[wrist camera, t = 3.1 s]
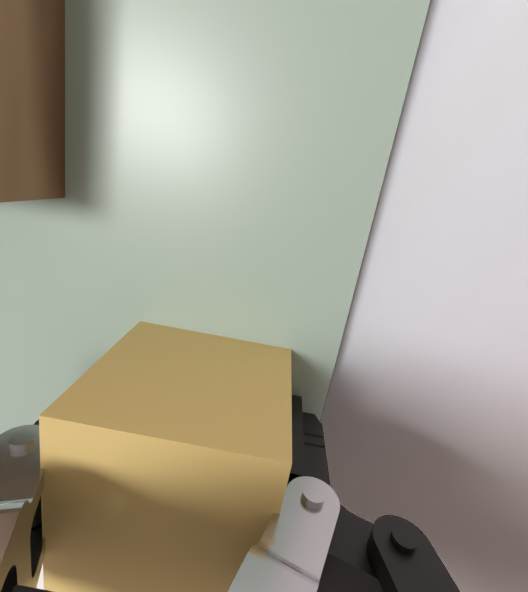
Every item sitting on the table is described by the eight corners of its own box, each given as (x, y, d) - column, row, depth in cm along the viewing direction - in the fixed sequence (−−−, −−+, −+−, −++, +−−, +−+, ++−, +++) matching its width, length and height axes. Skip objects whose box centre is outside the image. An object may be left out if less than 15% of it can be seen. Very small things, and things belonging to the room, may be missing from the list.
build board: (440, -70, 9) (460, -103, 8) (263, 623, 17) (261, 652, 16) (-265, -191, 9) (-337, -239, 8) (-111, 550, 17) (-136, 574, 16)
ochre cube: (291, 349, 12) (292, 463, 7) (264, 470, 13) (250, 632, 9) (139, 320, 12) (38, 415, 7) (131, 445, 13) (43, 591, 9)
